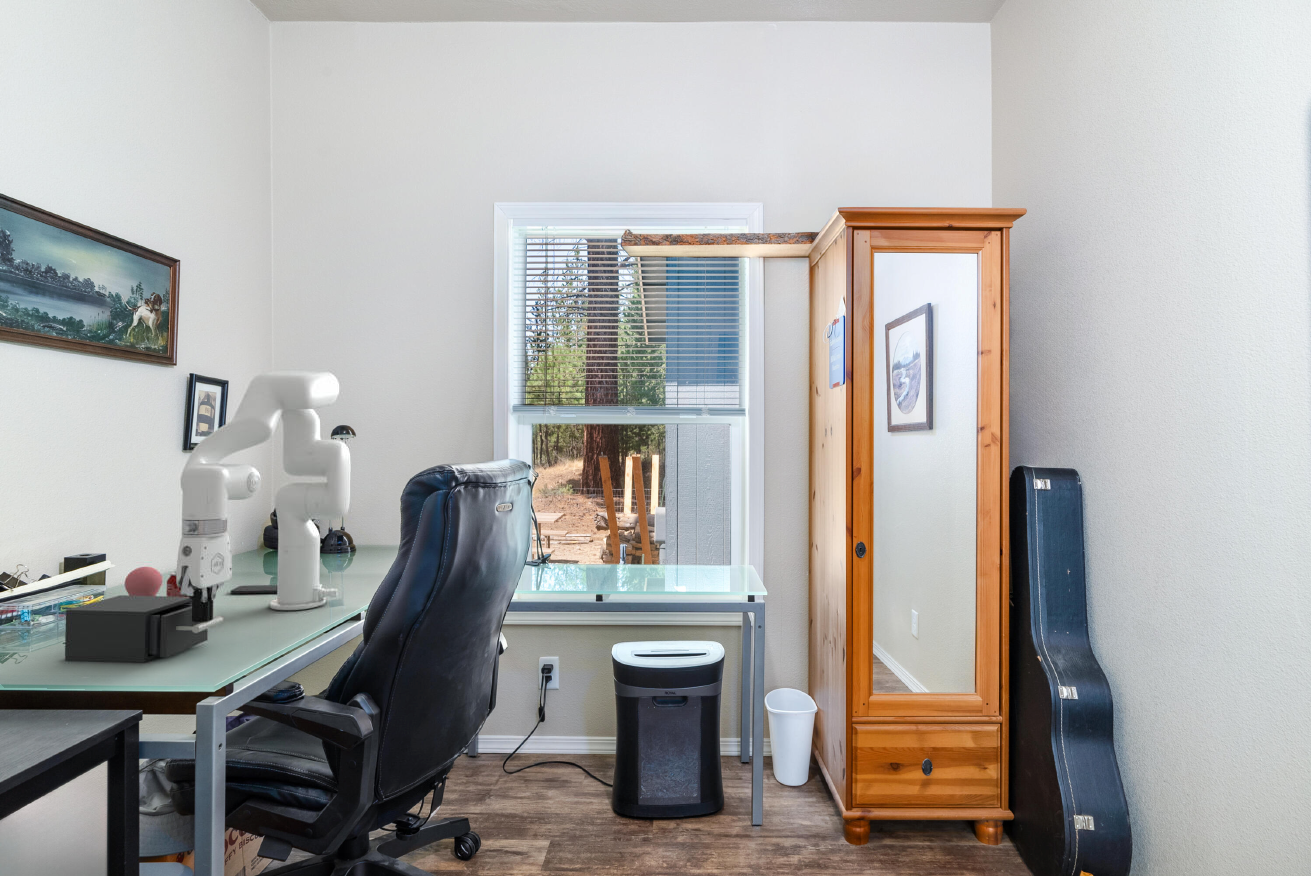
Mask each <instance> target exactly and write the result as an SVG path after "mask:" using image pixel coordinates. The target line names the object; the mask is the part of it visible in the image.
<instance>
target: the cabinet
mask: <svg viewBox="0 0 1311 876" xmlns="http://www.w3.org/2000/svg"><path fill="white" fill-rule="evenodd" d="M181 604H192V602H190V597H170V596H166V595H165V596H164V595H156V596H129V594H128V595H127V594H125V595H124V594H123V595H121V594H120V595H116V596H112V597H109V598H105V599H101V600H98V601H97V600H96V601H94V602H90V603H87V604H83V605H78V606H75V607H72V608H67V609H66V610H65V630H64V631H65V633H64V635H65V636H64V640H65V641H64V660H65V661H71V662H72V661H75V662H76V661H77V662H106V663H107V662H112V663H141V664H142V663H143V664H144V663H147V662H150V661H152V660H154V659H156V658H157V659H158V658H160V653H158V654H148V618H149V615H150V614H153V613H156V612H159V611H162V610H166V609H169V608H172V607H175V606H178V605H181Z"/></svg>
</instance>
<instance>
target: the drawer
mask: <svg viewBox="0 0 1311 876" xmlns="http://www.w3.org/2000/svg"><path fill="white" fill-rule="evenodd" d="M223 623H224V618H223V616H220V615H219V616H215V617H213V619H212V620H210V621H208V622H193V621H192V604H181V605H178V606H175V607H172V608H169V609H166V610H162V611H159V612H156V613H153V614H150V615H149V618H148V654H158V653H160V656H159V658H168V657H170V656H174V655H176V654H178V653H181V652H182V651H185V650H188V649H190V648H193V647H195V646H197V645H200V644H202V643H204V642H207V641H208V640H209V639H208V636H209V631H208V630H209V629H210V628H213V627H216V626H218V625H221V624H223Z"/></svg>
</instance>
